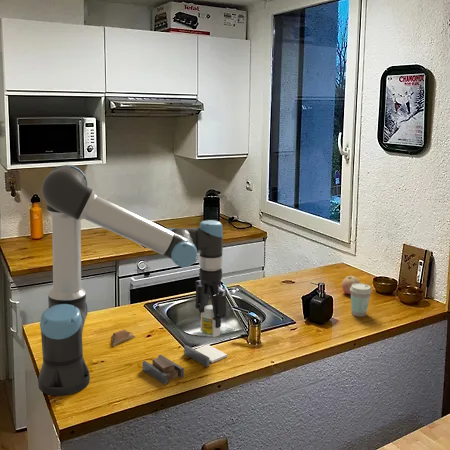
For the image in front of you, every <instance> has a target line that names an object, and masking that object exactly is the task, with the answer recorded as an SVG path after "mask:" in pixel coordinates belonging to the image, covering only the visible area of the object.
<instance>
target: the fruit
mask: <svg viewBox="0 0 450 450" xmlns="http://www.w3.org/2000/svg"><path fill="white" fill-rule="evenodd" d="M356 283H360V280H359V279H358V278H357V277H356V276H355V275H354V276H353V275H348V276H345V278H344V279H343V280H342V282H341V289H342V291H343V292H344V293H345V294H346V295H348V296H351V291H350V288H351V286H352V284H356Z"/></svg>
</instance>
